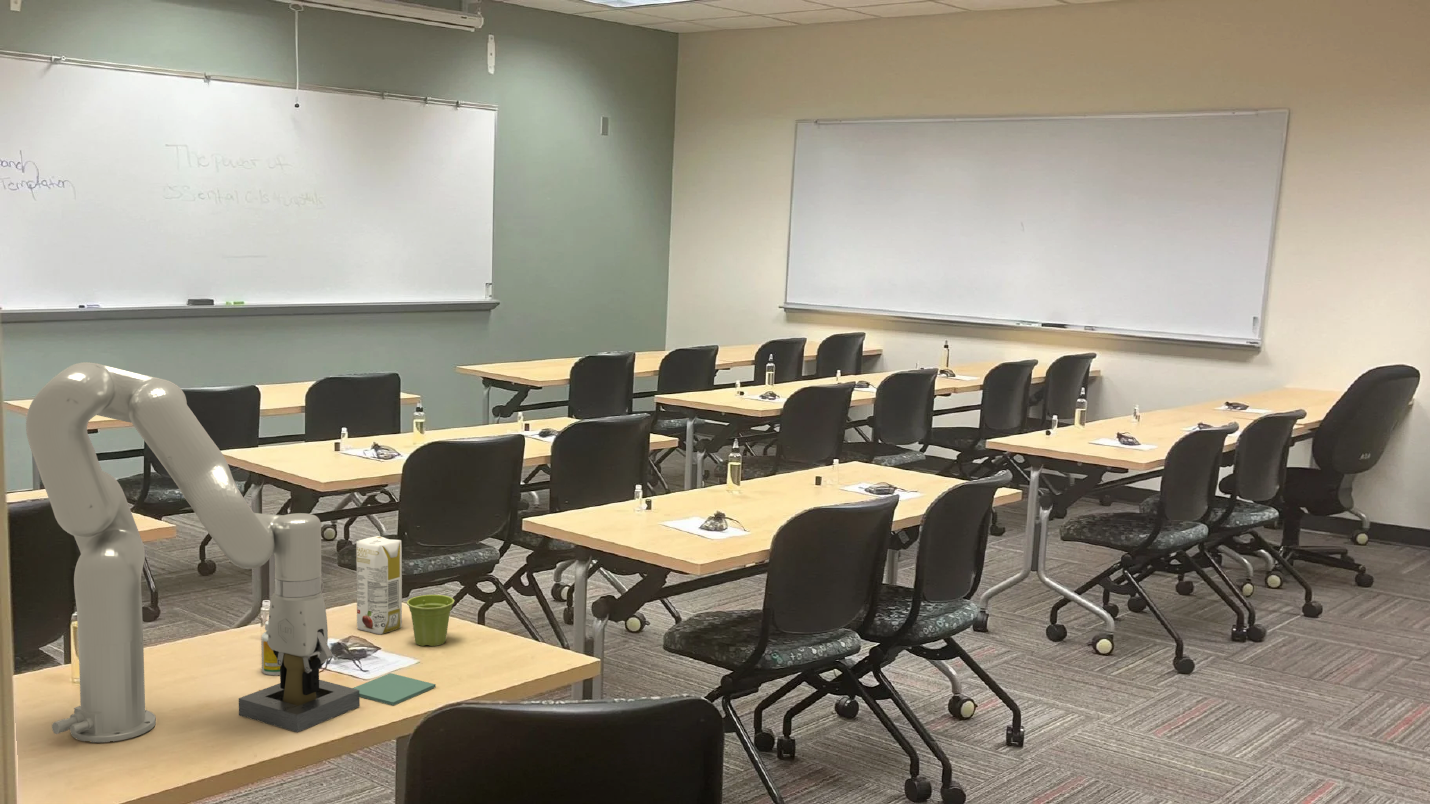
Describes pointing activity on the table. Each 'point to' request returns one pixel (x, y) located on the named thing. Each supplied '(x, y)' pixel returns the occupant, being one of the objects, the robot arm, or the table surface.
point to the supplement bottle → (268, 656)
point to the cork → (295, 681)
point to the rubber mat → (393, 689)
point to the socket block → (298, 718)
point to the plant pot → (430, 618)
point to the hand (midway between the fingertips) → (299, 688)
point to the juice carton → (379, 584)
